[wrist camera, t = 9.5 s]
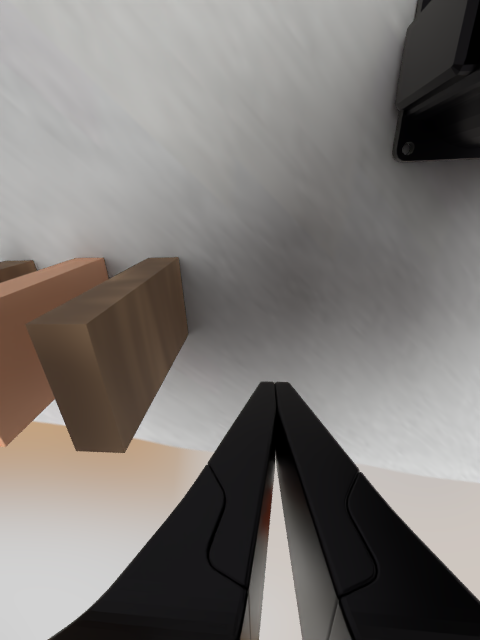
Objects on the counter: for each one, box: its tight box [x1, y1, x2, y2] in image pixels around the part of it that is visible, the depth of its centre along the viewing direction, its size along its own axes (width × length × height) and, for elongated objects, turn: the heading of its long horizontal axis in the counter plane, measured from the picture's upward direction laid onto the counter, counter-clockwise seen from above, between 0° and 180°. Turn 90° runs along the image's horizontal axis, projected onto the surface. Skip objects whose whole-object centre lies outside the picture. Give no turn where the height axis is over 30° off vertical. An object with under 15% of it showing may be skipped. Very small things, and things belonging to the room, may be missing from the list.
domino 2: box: [25, 257, 188, 453], centre depth 13 cm, size 2×5×9 cm, turn 2°
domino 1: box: [0, 258, 109, 447], centre depth 13 cm, size 2×5×9 cm, turn 2°
